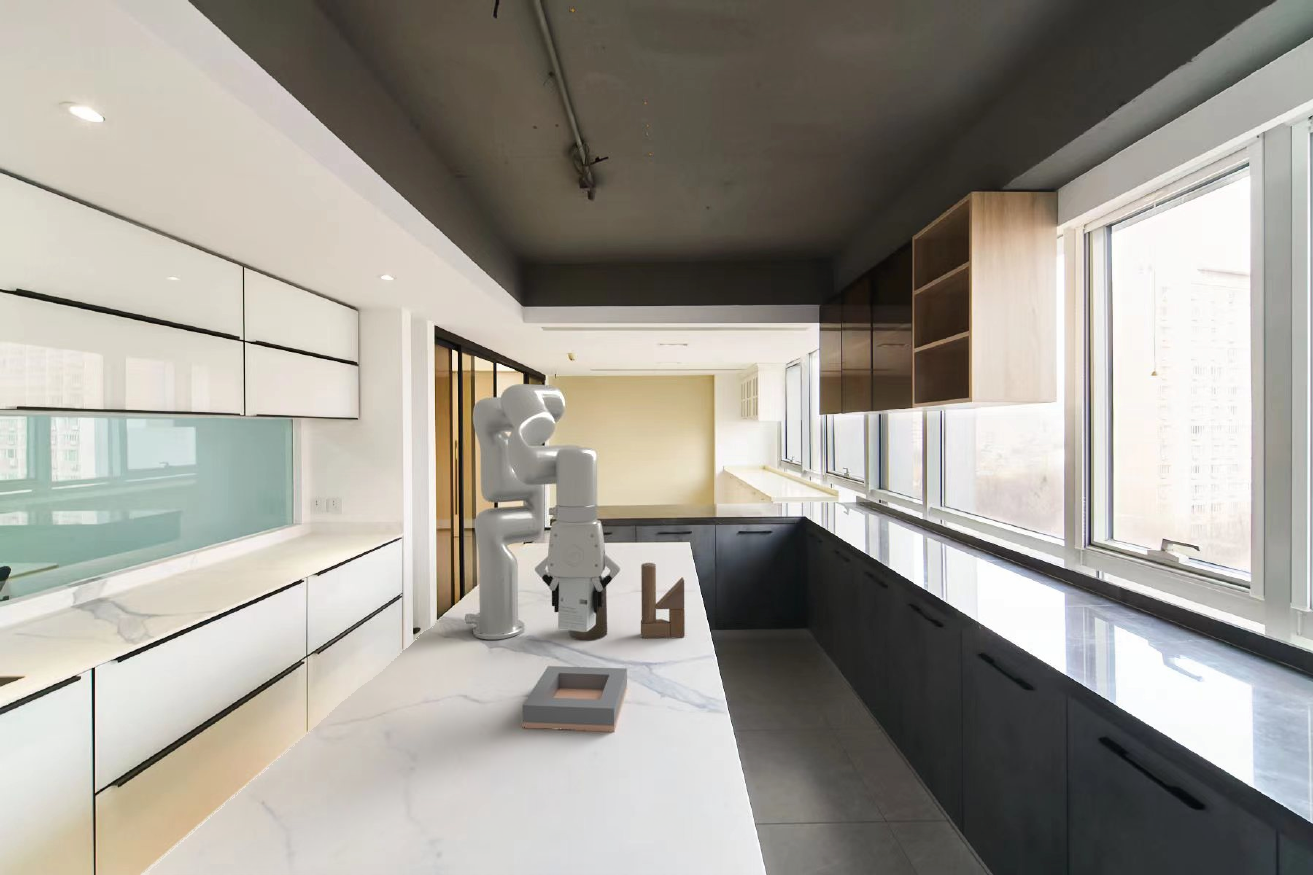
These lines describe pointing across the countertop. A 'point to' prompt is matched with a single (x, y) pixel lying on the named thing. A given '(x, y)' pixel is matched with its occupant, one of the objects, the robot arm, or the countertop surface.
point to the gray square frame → (576, 699)
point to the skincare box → (576, 604)
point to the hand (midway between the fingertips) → (577, 609)
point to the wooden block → (661, 607)
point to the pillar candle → (599, 627)
